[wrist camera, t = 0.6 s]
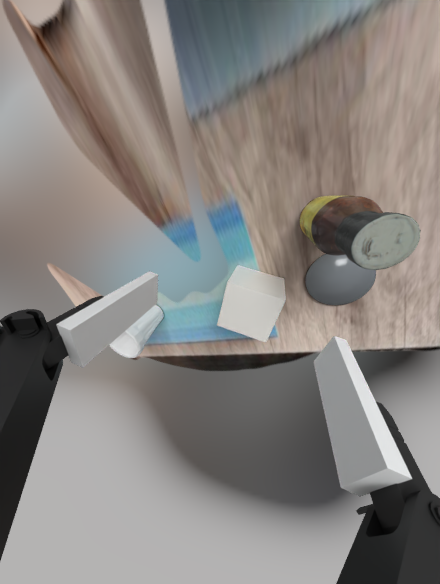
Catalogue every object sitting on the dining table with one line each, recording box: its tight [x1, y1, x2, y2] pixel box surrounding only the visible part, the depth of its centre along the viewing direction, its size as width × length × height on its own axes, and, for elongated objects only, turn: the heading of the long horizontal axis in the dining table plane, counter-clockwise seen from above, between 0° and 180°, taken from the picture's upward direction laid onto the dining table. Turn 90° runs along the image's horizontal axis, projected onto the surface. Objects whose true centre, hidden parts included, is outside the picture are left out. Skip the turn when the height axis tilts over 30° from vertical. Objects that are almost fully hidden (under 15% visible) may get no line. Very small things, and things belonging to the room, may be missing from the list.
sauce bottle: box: [300, 196, 420, 270], centre depth 21 cm, size 7×6×20 cm
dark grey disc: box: [305, 254, 376, 305], centre depth 32 cm, size 11×11×1 cm
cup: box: [109, 305, 164, 358], centre depth 46 cm, size 10×10×13 cm
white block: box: [217, 265, 286, 343], centre depth 35 cm, size 10×10×9 cm
